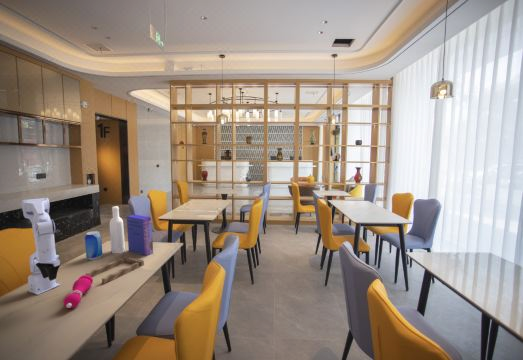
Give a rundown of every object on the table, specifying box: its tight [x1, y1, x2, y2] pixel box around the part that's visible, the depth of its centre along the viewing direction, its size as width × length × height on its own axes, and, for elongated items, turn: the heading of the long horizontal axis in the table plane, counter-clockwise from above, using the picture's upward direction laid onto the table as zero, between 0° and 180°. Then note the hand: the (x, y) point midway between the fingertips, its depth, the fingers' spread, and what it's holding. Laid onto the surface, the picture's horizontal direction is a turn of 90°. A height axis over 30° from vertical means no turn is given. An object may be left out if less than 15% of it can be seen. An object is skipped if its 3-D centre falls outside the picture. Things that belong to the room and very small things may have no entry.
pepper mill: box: [63, 274, 94, 309], centre depth 113 cm, size 7×7×20 cm
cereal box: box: [126, 214, 154, 257], centre depth 165 cm, size 17×5×24 cm, turn 64°
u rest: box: [85, 255, 145, 285], centre depth 140 cm, size 24×15×2 cm, turn 155°
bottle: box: [109, 205, 126, 254], centre depth 166 cm, size 8×8×30 cm
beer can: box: [84, 230, 103, 261], centre depth 157 cm, size 8×8×16 cm
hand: (49, 278), depth 111 cm, fingers open, 4 cm apart
